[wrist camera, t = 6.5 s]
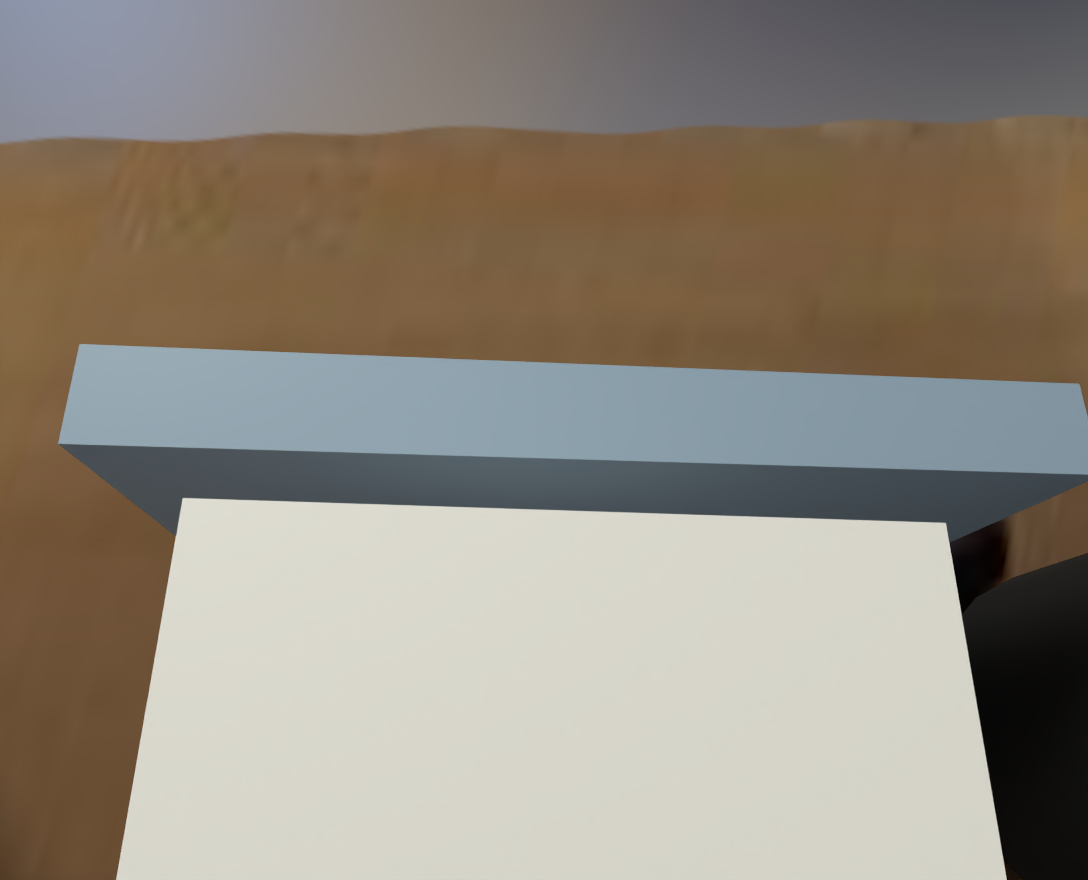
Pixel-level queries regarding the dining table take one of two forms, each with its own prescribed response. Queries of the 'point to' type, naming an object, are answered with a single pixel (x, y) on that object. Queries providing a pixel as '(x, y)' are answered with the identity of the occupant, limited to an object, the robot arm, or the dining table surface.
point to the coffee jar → (1036, 715)
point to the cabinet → (557, 699)
